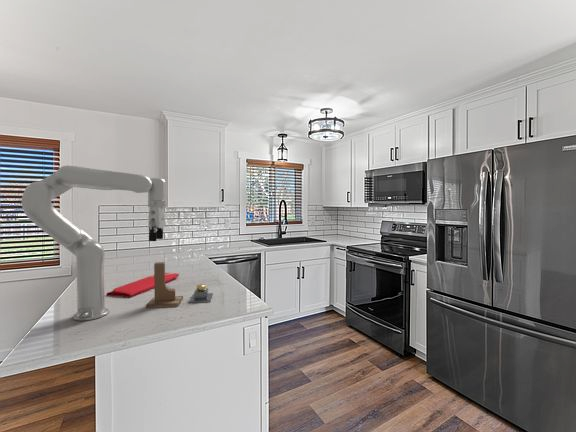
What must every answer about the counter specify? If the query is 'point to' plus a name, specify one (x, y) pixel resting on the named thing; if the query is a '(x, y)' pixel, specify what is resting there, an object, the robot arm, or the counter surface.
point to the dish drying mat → (139, 286)
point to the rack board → (164, 303)
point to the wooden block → (162, 284)
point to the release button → (201, 287)
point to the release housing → (201, 296)
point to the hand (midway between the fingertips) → (156, 240)
